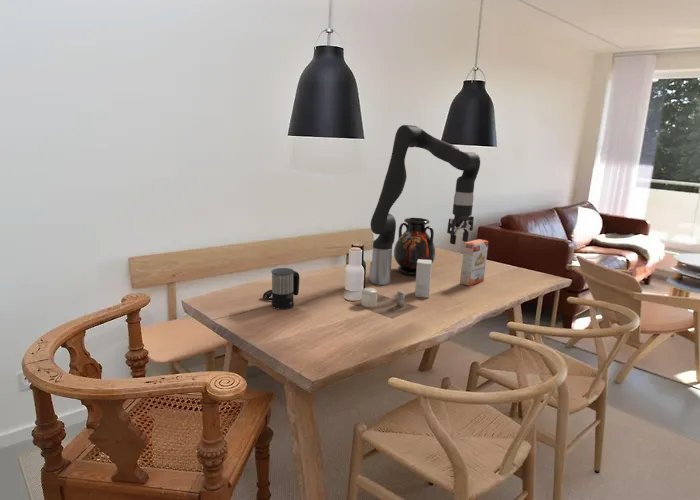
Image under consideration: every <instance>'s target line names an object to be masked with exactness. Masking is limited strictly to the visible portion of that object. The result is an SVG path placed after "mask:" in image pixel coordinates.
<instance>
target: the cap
mask: <svg viewBox="0 0 700 500" xmlns="http://www.w3.org/2000/svg"><path fill="white" fill-rule="evenodd" d="M377 294H378V290H377V289H376V288H373V287H372V288H371V287H365V288H362V290H361V299H362V300H361V299H360V300H361V304H362V305H363V306H366V307H374V306H376V302H377Z"/></svg>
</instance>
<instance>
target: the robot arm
mask: <svg viewBox="0 0 700 500" xmlns="http://www.w3.org/2000/svg"><path fill="white" fill-rule="evenodd" d="M392 145H393V146H392V152H391V156H390V161H389V164H388V168H387V171H386V174H385V177H384V181H383V185H382V189H381V191H380V195H379V198H378V201H377V205H376V207H375V209H374V210H373V211H374V212H373V214H372V217H371V220H370V229H371V232H372V233H373V234H374V235H378V236H377V238H376V239H375V240H373V243H372V254H371V255H372V257H371V261H370V264H369V282H371V284H374V285H377V286H378V285H379V286H381V285H382V286H385V285H389V284H390V283H391V276H392V275H391V273H392V258H393V257H392V256H393V245H394V243H395V237H396V228H397V222H396V218H395V216H394V215H393V214H391V213H390V210H391V209H392V206H393V205H394V204H395V203H396V202H397V201H398V199H399V198H400V196H401V194H402V193H403V191H404V188H405V184H406V182H407V176H408V175H407V170H406V169H407V168H406V155H407V152H408V149H409V148H419V149H424V150H426V151H428V152H429V153H430V154H431V155H432V156H433V157H435V158H437V159H439V160H441V161H443V162H446V163H448V164H449V165H450V166H452V167H454V168H455V169H456V170H459V171H462V173H461V176H459V177H457V179H456V183H455V192H454V197H453V205H452V214H453V215H454V217H453V218H449V219H448V223H447V230H446V233H447V234H448V235H450V236H449V237H450V239H449V243H450V244H451V245H456V244H457V234H458V232H459V231H460V230H463V231H462V241H463V243H465V242H469V235H470V233H471V232H472V231H473V230H474V216H472V213H473V207H474V206H473V205H474V189H475V182H476V180H477V177H478V174H479V171H480V167H481V158H480V156H479V154H478V153H476V152H472V151H470V152H469V151H468V152H467V151H462V150H460V148H458V146H456V145H453V144H452V143H449V142H447V141H444V140H443V139H442V140H441V139H439V138H437V137H435V136H433V135H431V134H430V133H428V132H427V131H425V130H423V128H420V126H417V125H409V124H402V125H400V126H399V127H398V129H396V133H395V135H394V140H393V144H392Z"/></svg>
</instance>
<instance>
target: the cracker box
mask: <svg viewBox="0 0 700 500" xmlns="http://www.w3.org/2000/svg"><path fill="white" fill-rule="evenodd" d="M463 243H464V244H463V250H462V251H463V252H462V262H461V269H460V271H461V272H460V280H459V284H462V285H465V286H467V287H471V286H474V285H476V284H479V283H482V282H484V281H485V280H484V279H485V272H486V264H487V258H488V257H487V256H488V250H489V240H487V239H480V238H478V239H474V240H468V241H467V242H463Z"/></svg>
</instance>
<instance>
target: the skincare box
mask: <svg viewBox="0 0 700 500" xmlns="http://www.w3.org/2000/svg"><path fill="white" fill-rule="evenodd" d="M432 264H433V263H432V260H422V259H418V261H417V269H416V276H415V287H414V291H415V293H414V297H416V298H426V299H429V298H430V291H431V279H432V277H431V275H432Z"/></svg>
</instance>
